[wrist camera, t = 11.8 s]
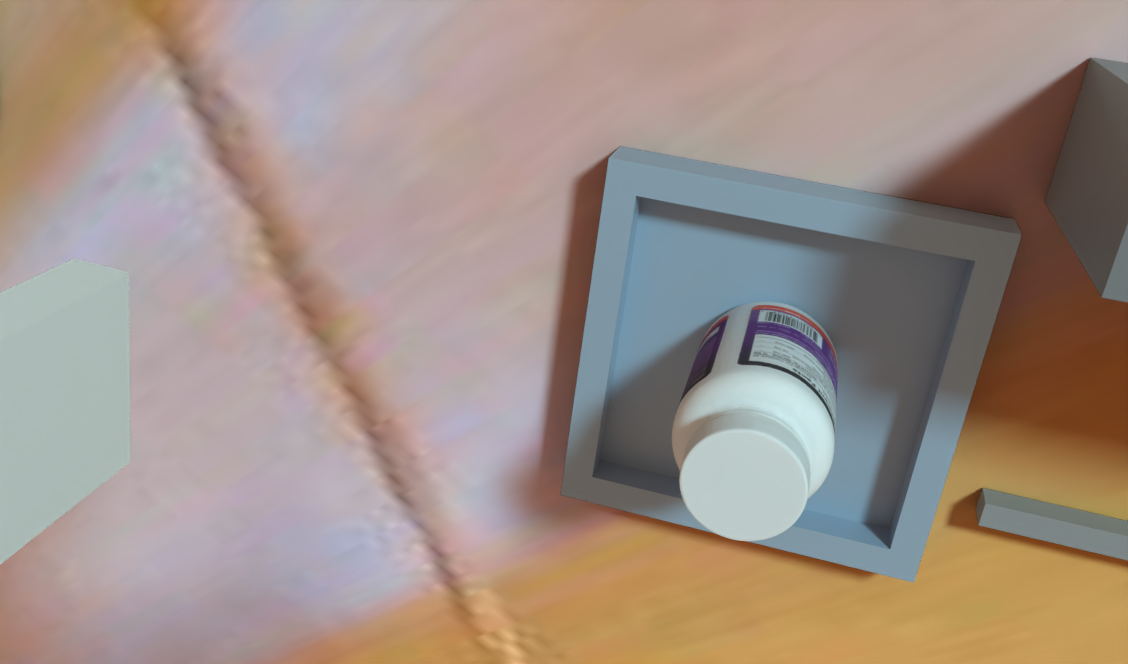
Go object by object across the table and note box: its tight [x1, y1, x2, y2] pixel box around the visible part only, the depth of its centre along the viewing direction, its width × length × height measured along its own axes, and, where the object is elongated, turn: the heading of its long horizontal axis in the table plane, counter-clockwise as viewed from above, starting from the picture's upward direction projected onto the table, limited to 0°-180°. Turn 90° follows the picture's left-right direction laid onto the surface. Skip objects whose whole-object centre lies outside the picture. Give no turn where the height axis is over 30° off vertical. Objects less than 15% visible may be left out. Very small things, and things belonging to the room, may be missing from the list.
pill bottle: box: [672, 301, 838, 541], centre depth 38 cm, size 5×5×10 cm
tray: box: [560, 146, 1022, 582], centre depth 41 cm, size 14×14×2 cm
